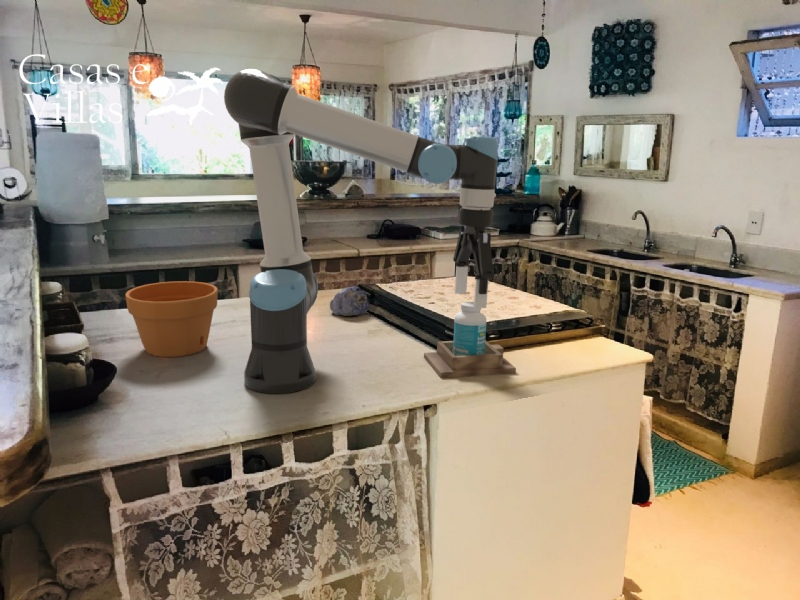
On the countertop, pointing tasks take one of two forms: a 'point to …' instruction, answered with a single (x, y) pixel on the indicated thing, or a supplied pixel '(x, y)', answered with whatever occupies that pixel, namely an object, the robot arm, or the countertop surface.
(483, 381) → the countertop surface
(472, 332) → the pill bottle
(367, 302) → the rock
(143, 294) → the flower pot
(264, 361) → the robot arm
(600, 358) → the countertop surface
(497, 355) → the wooden tray
